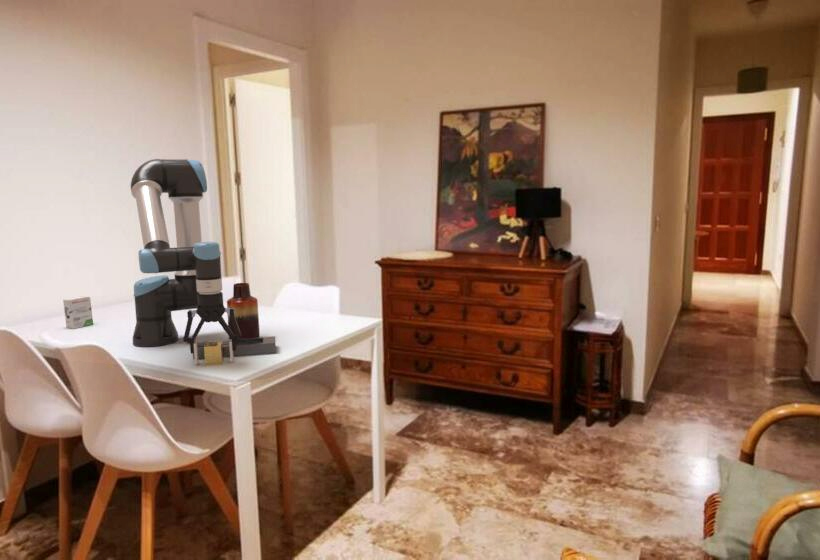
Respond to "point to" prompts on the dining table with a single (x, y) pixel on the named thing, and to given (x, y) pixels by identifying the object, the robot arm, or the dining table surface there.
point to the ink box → (78, 312)
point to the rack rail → (243, 347)
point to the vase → (244, 311)
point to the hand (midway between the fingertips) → (214, 361)
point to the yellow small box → (213, 353)
